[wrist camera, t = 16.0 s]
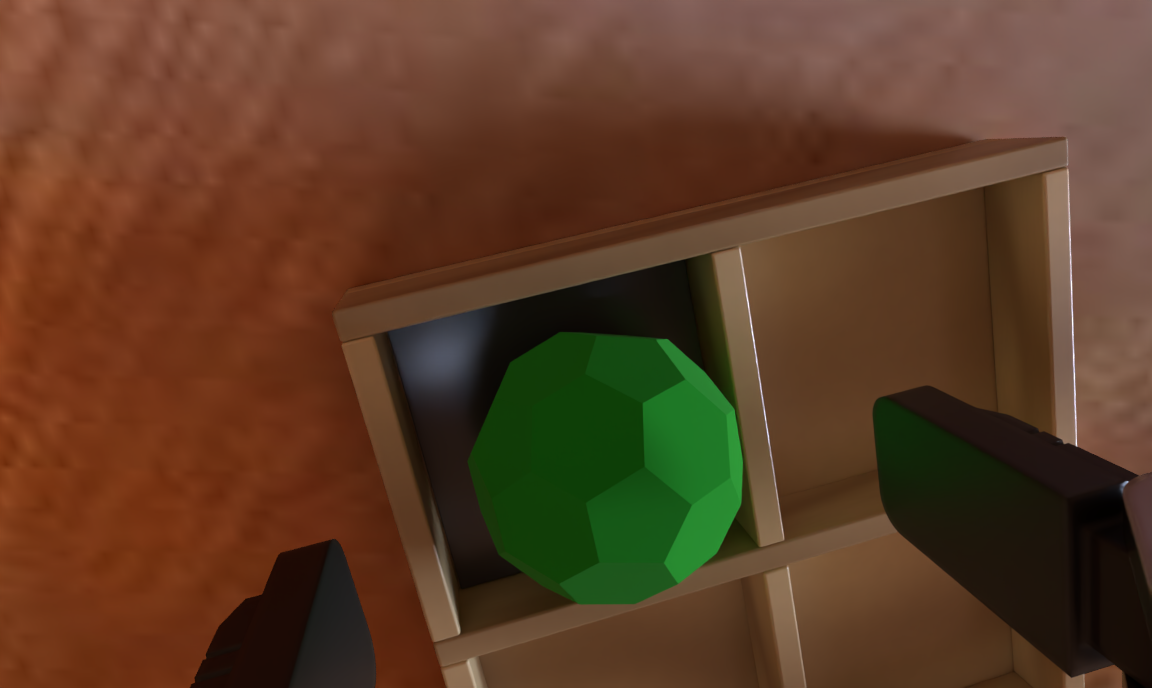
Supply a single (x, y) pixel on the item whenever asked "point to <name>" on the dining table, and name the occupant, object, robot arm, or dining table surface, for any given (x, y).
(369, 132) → the dining table surface
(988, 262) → the compartment tray
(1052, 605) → the robot arm
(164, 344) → the dining table surface
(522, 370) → the polyhedron
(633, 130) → the dining table surface
